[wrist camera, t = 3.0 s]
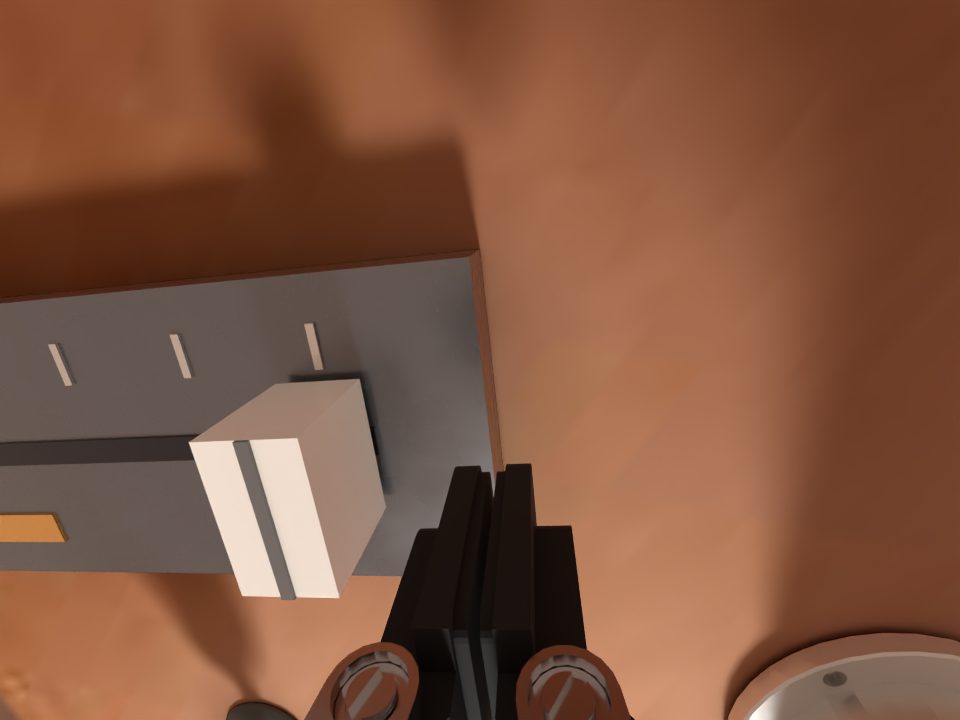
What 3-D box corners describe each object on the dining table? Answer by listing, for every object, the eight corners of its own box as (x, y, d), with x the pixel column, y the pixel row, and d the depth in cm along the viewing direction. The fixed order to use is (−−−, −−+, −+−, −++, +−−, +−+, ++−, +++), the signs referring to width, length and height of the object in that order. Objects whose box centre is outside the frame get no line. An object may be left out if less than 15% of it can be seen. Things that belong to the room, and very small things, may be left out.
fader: (359, 378, 15) (295, 440, 11) (385, 507, 16) (337, 600, 12) (275, 383, 15) (185, 444, 11) (309, 508, 17) (239, 598, 13)
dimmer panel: (479, 249, 16) (468, 257, 13) (510, 532, 20) (505, 579, 17) (-121, 310, 20) (-213, 324, 18) (-2, 533, 24) (-64, 571, 21)
